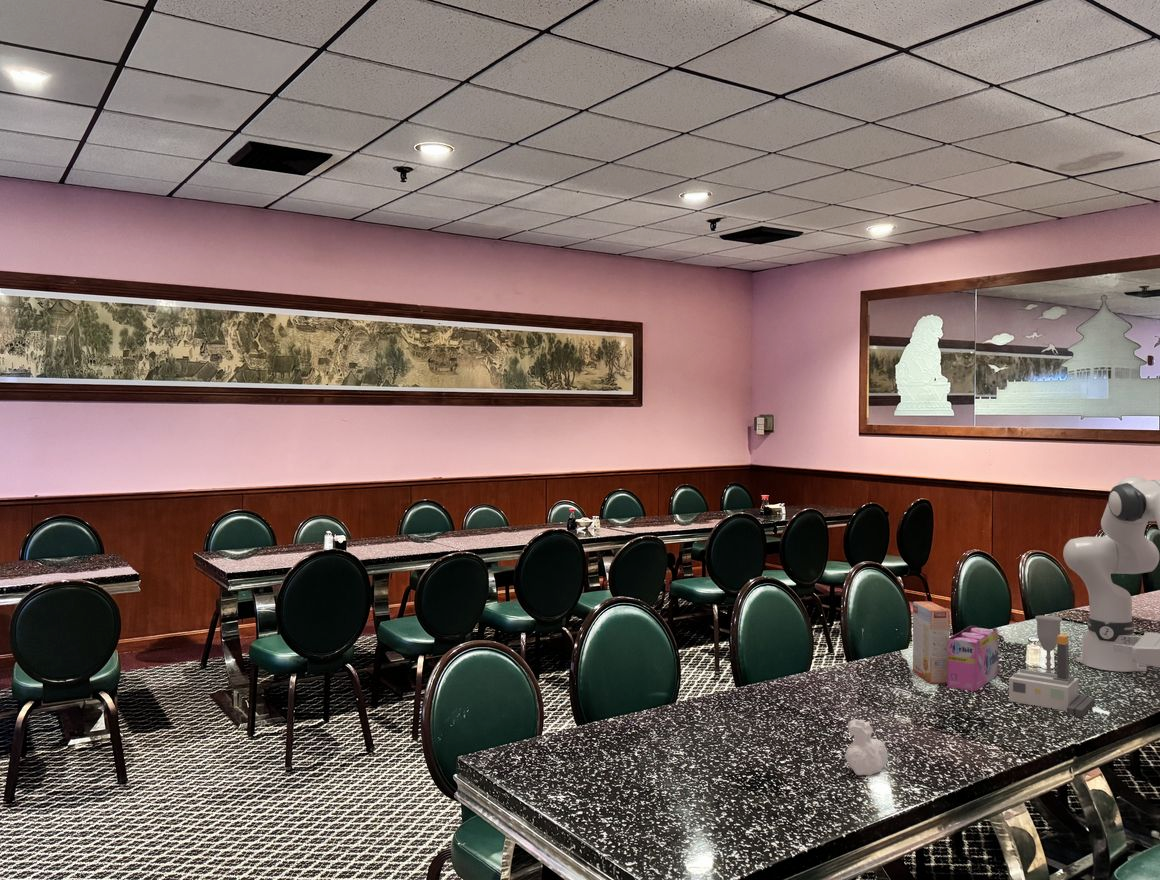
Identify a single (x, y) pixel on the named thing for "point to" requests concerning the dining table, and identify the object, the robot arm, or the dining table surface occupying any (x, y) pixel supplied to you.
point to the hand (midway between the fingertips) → (1117, 643)
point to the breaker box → (1042, 690)
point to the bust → (865, 750)
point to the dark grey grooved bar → (1081, 705)
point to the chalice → (1048, 635)
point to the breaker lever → (1063, 659)
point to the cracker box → (930, 641)
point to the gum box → (972, 658)
